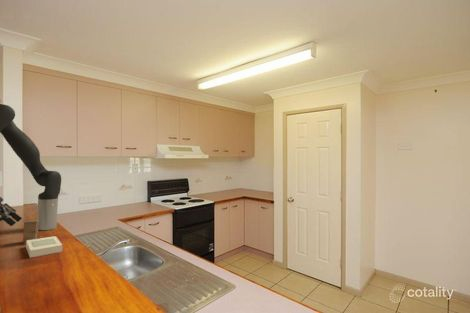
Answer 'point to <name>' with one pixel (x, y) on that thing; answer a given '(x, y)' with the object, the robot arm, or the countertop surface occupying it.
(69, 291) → the countertop surface
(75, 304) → the countertop surface
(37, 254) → the plinth
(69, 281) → the countertop surface
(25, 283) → the countertop surface
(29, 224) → the walnut block
